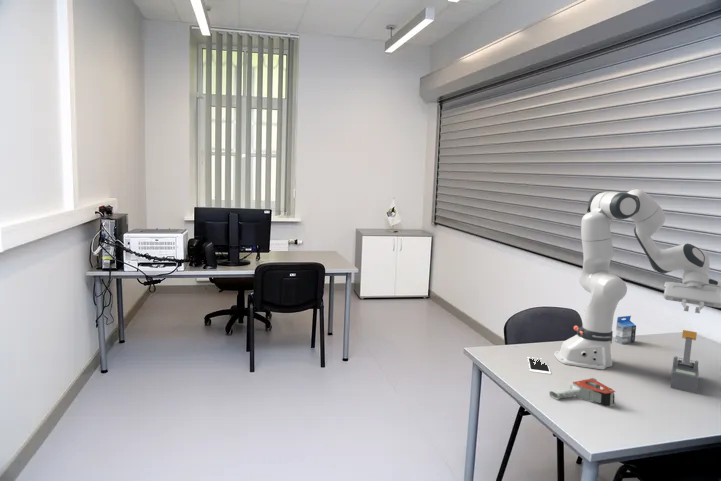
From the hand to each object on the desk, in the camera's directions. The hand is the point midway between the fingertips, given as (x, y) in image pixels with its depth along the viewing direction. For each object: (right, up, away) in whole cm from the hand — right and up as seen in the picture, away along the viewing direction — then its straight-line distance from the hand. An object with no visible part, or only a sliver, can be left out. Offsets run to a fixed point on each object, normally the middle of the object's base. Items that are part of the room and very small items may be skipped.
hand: (691, 311), depth 189 cm
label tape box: (-6, -21, +38) cm, 43 cm away
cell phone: (-60, -23, +4) cm, 65 cm away
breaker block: (-8, -26, -7) cm, 28 cm away
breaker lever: (-8, -19, -8) cm, 22 cm away
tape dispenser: (-55, -27, -23) cm, 65 cm away
